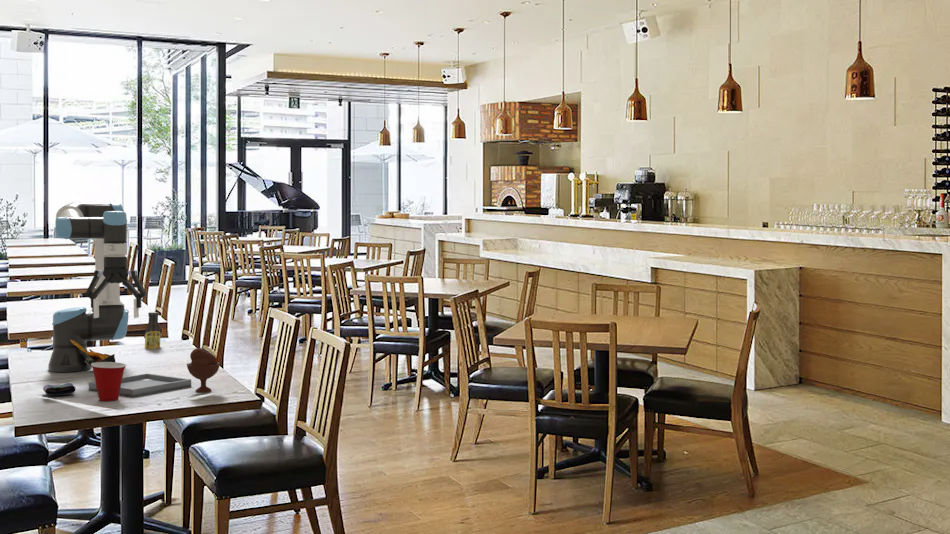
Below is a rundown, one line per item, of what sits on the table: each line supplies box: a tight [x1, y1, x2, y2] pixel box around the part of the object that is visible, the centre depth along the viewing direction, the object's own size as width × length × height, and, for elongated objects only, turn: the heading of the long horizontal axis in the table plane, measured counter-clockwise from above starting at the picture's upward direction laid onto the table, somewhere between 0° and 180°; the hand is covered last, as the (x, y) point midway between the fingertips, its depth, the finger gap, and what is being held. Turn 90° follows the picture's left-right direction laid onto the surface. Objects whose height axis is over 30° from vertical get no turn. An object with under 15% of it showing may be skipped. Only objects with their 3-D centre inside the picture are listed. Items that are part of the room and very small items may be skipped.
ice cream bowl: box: [186, 347, 221, 394], centre depth 303 cm, size 11×11×15 cm
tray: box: [88, 372, 192, 398], centre depth 309 cm, size 24×24×2 cm
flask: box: [42, 382, 77, 396], centre depth 297 cm, size 9×3×11 cm
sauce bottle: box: [144, 311, 161, 350], centre depth 381 cm, size 6×6×20 cm
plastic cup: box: [91, 361, 127, 402], centre depth 288 cm, size 11×11×12 cm
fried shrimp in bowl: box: [71, 339, 116, 367], centre depth 335 cm, size 9×11×18 cm
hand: (116, 317), depth 305 cm, fingers open, 13 cm apart
